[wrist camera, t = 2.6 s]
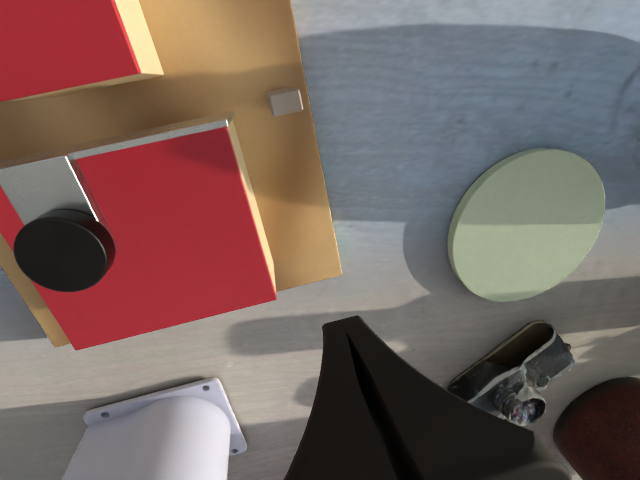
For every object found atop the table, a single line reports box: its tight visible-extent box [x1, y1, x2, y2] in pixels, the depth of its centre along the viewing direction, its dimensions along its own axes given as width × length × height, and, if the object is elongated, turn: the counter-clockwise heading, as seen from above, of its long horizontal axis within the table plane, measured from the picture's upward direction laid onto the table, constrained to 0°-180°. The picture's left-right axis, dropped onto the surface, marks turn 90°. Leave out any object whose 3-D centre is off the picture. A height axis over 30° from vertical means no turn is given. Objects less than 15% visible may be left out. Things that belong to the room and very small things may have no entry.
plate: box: [447, 148, 605, 302], centre depth 24 cm, size 11×11×1 cm
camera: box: [447, 320, 575, 426], centre depth 28 cm, size 5×10×4 cm, turn 131°
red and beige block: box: [0, 119, 277, 350], centre depth 18 cm, size 10×9×4 cm
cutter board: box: [0, 0, 342, 347], centre depth 16 cm, size 18×18×6 cm
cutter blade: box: [0, 111, 235, 292], centre depth 12 cm, size 11×4×5 cm, turn 101°
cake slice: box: [0, 0, 164, 101], centre depth 14 cm, size 5×4×4 cm
